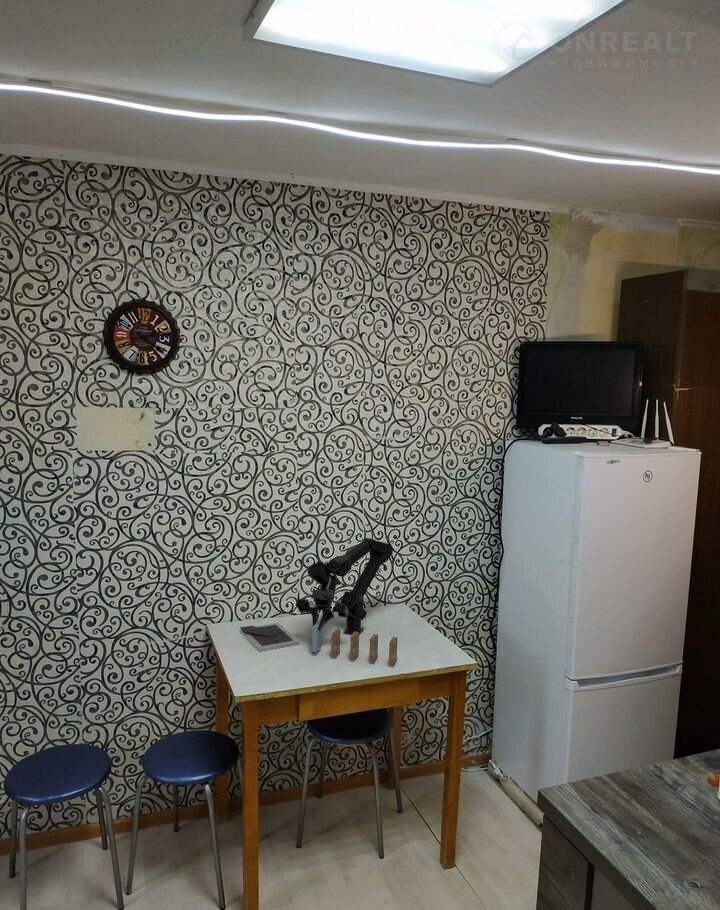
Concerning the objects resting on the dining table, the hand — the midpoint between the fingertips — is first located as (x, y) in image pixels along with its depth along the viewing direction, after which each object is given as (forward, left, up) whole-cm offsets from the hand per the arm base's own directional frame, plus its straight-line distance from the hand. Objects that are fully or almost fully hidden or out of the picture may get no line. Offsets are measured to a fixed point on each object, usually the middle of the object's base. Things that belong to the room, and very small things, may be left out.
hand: (316, 629), depth 250 cm
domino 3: (-1, +14, -9) cm, 17 cm away
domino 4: (-1, +21, -9) cm, 23 cm away
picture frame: (-8, -22, -10) cm, 25 cm away
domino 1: (-1, 0, -7) cm, 8 cm away
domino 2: (-1, +7, -9) cm, 12 cm away
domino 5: (-1, +28, -9) cm, 29 cm away
